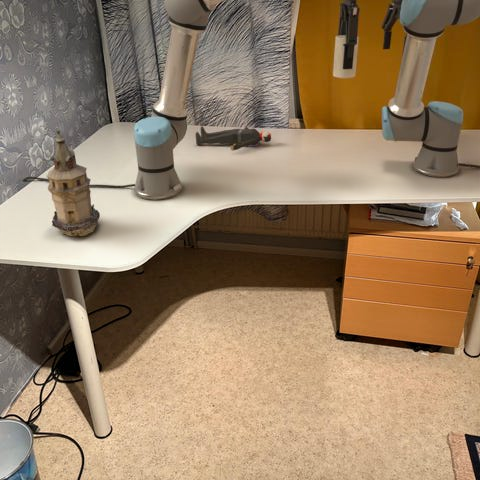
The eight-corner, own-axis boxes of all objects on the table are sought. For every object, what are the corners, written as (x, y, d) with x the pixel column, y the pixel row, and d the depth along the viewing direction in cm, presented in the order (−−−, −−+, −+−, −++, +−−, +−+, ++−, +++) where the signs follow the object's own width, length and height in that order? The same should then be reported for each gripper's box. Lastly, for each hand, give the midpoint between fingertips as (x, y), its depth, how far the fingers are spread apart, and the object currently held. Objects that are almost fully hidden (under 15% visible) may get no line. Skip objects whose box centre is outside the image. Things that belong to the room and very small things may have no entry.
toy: (206, 120, 229) (275, 120, 223) (207, 134, 232) (276, 134, 226) (189, 139, 207) (265, 140, 201) (190, 155, 210) (266, 156, 204)
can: (358, 74, 164) (361, 35, 159) (351, 79, 159) (354, 39, 154) (337, 72, 167) (340, 34, 162) (329, 76, 162) (332, 37, 156)
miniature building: (80, 214, 164) (63, 117, 149) (111, 225, 157) (96, 125, 142) (44, 231, 154) (22, 130, 140) (75, 244, 147) (55, 139, 133)
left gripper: (374, -16, 142) (365, 73, 153) (356, -21, 159) (349, 59, 170) (346, -16, 142) (339, 73, 153) (331, -21, 159) (326, 60, 170)
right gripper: (376, -12, 203) (370, 47, 214) (414, -6, 183) (406, 58, 193) (393, -12, 205) (386, 46, 216) (433, -7, 185) (423, 57, 195)
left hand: (344, 66), depth 162 cm, fingers closed on can, 7 cm apart
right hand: (395, 52), depth 204 cm, fingers open, 13 cm apart
